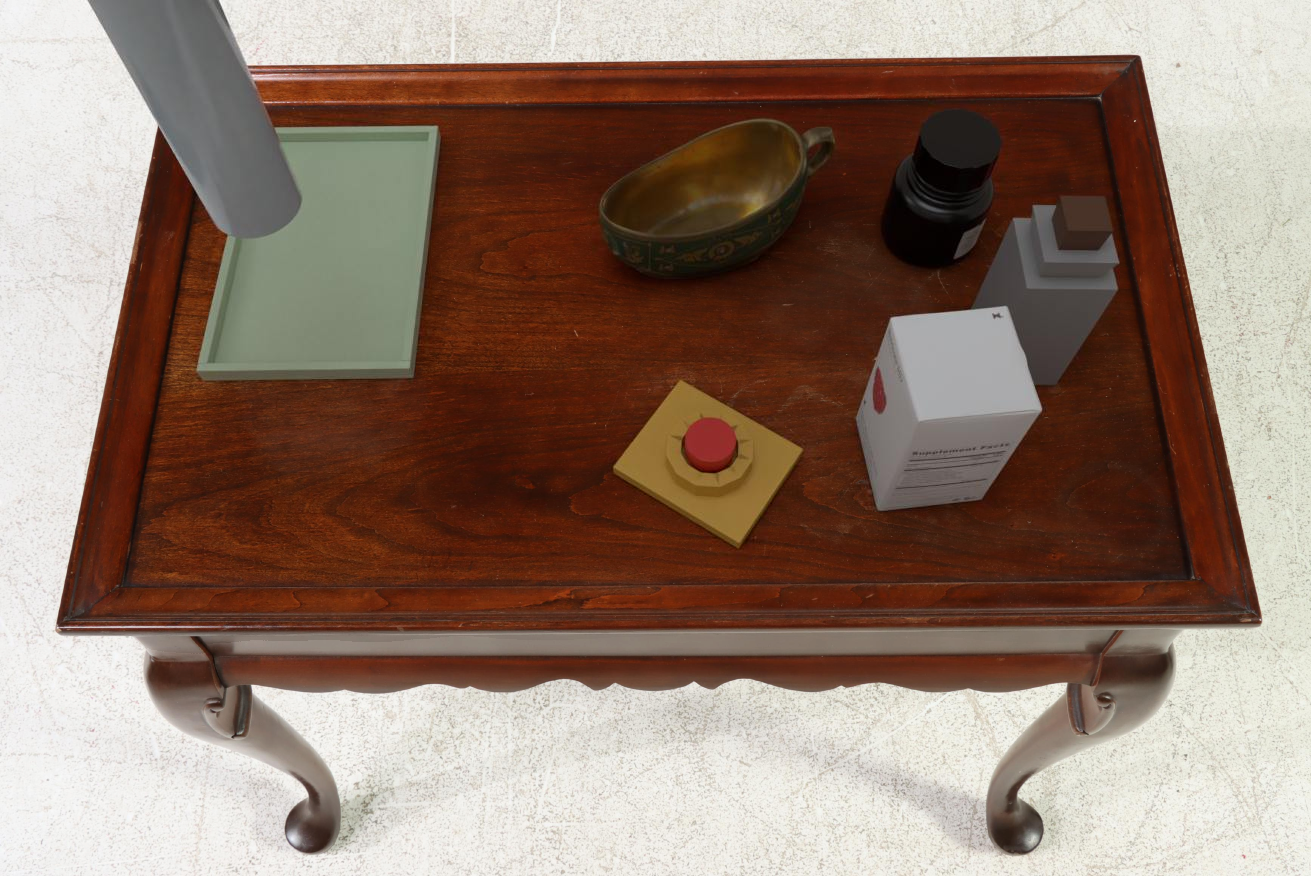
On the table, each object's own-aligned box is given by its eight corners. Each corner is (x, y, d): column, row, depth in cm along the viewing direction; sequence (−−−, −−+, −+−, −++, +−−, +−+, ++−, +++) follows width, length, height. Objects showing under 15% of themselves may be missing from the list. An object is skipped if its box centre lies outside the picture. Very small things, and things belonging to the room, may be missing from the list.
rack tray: (413, 378, 88) (409, 368, 87) (203, 380, 88) (195, 370, 87) (441, 137, 102) (438, 125, 100) (258, 139, 101) (252, 127, 100)
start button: (717, 480, 81) (718, 470, 79) (674, 455, 82) (675, 445, 80) (744, 443, 82) (745, 433, 81) (701, 419, 83) (702, 408, 82)
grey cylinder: (257, 253, 73) (95, -52, 51) (190, 213, 74) (7, -99, 53) (321, 194, 75) (192, -120, 54) (255, 156, 77) (106, -162, 56)
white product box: (852, 416, 87) (887, 311, 73) (956, 406, 87) (1010, 300, 74) (874, 514, 82) (916, 422, 69) (984, 503, 83) (1046, 409, 70)
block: (738, 549, 81) (741, 534, 78) (613, 473, 84) (611, 456, 81) (802, 455, 85) (806, 438, 82) (679, 386, 88) (680, 367, 85)
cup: (821, 304, 92) (839, 230, 83) (599, 290, 93) (593, 215, 84) (821, 194, 98) (838, 114, 89) (613, 181, 99) (609, 101, 90)
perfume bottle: (1055, 385, 88) (1143, 250, 72) (976, 384, 88) (1047, 249, 72) (1042, 320, 91) (1123, 178, 76) (966, 319, 91) (1031, 177, 76)
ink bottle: (980, 275, 94) (1022, 183, 83) (883, 272, 94) (912, 180, 83) (968, 193, 98) (1006, 97, 88) (876, 191, 98) (903, 94, 88)
